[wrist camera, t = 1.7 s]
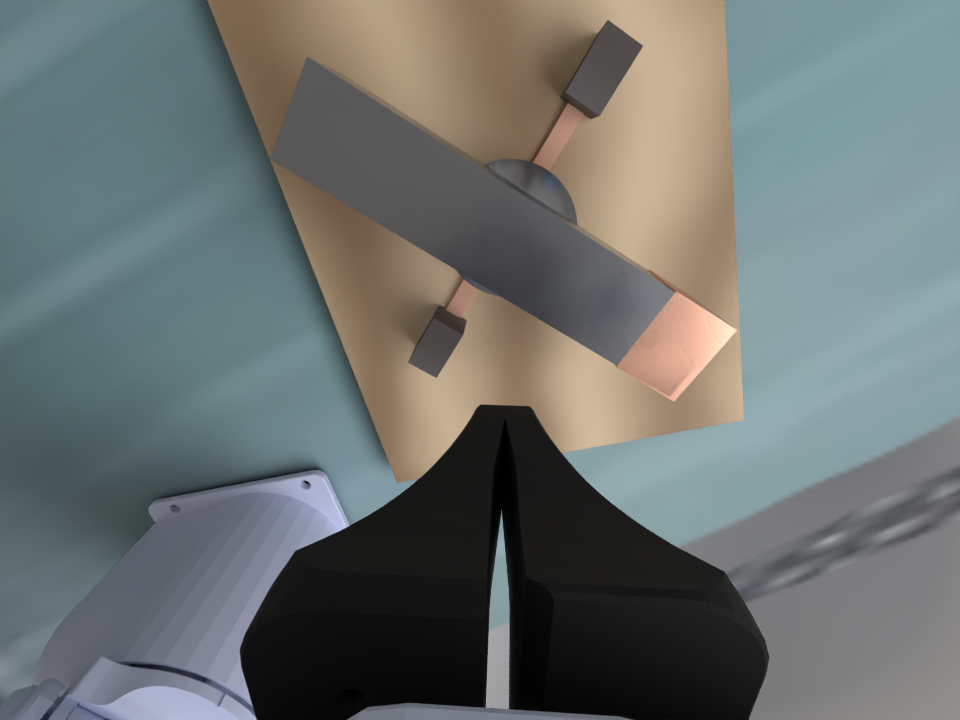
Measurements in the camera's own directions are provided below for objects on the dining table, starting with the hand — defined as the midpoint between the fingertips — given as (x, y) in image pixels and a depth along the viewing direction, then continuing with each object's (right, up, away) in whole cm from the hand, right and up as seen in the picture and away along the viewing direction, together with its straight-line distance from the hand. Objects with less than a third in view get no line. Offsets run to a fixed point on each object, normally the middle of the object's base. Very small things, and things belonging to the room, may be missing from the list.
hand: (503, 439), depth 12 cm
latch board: (+1, +7, +6) cm, 9 cm away
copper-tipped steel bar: (0, +6, +3) cm, 7 cm away
